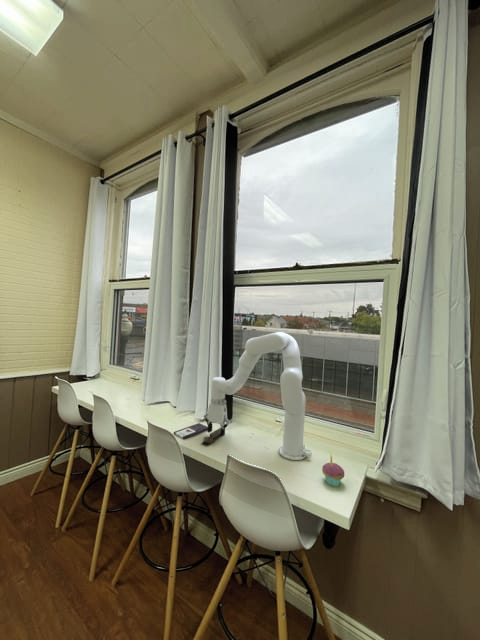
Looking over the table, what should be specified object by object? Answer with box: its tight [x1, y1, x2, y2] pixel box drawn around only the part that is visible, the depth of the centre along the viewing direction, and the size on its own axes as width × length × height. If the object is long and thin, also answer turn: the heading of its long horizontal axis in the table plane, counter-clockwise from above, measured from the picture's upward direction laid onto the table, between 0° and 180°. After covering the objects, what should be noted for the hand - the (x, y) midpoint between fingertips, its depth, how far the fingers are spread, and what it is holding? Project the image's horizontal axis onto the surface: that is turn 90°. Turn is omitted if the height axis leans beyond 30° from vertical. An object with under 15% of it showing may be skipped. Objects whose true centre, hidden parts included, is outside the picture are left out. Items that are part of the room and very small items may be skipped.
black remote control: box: [201, 435, 221, 447], centre depth 140 cm, size 17×3×1 cm, turn 150°
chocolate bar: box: [173, 422, 208, 440], centre depth 147 cm, size 9×1×18 cm
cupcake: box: [321, 454, 345, 487], centre depth 107 cm, size 9×8×12 cm
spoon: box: [202, 427, 222, 444], centre depth 140 cm, size 16×5×3 cm, turn 150°
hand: (216, 433), depth 141 cm, fingers open, 7 cm apart
